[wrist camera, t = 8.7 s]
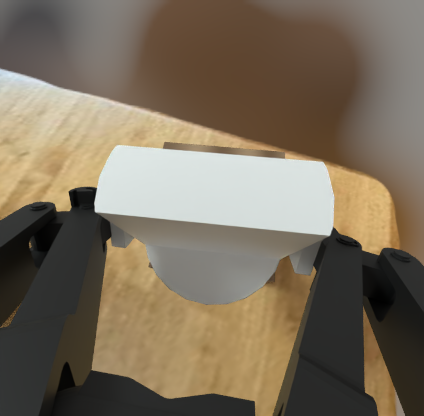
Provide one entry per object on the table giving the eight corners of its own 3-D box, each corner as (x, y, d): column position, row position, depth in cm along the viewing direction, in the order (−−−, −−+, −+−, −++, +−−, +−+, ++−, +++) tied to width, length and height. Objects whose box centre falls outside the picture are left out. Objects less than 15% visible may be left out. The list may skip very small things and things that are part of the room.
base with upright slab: (156, 293, 18) (57, 299, 7) (174, 196, 21) (128, 92, 10) (263, 306, 17) (349, 336, 6) (265, 205, 21) (324, 105, 9)
